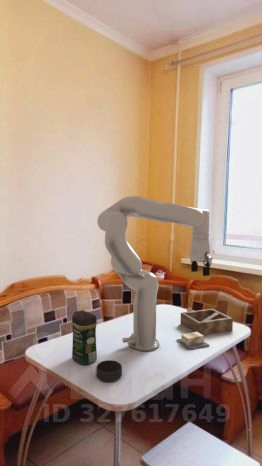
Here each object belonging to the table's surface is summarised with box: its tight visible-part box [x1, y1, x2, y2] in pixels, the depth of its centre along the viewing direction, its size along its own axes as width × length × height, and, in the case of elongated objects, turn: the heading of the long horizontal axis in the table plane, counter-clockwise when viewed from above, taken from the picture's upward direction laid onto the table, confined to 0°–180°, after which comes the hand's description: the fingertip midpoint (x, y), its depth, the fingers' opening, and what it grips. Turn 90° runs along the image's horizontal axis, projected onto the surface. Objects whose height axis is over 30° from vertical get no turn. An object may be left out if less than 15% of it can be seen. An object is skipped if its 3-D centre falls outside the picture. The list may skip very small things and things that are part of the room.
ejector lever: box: [199, 312, 219, 322], centre depth 159 cm, size 15×6×1 cm, turn 112°
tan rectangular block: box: [181, 332, 205, 345], centre depth 141 cm, size 8×5×3 cm, turn 114°
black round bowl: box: [95, 359, 123, 383], centre depth 113 cm, size 9×9×4 cm
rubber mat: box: [176, 338, 210, 351], centre depth 141 cm, size 10×10×1 cm
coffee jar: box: [71, 309, 98, 365], centre depth 124 cm, size 10×8×19 cm
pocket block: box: [180, 308, 234, 336], centre depth 160 cm, size 19×16×6 cm
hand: (200, 273), depth 150 cm, fingers open, 9 cm apart
